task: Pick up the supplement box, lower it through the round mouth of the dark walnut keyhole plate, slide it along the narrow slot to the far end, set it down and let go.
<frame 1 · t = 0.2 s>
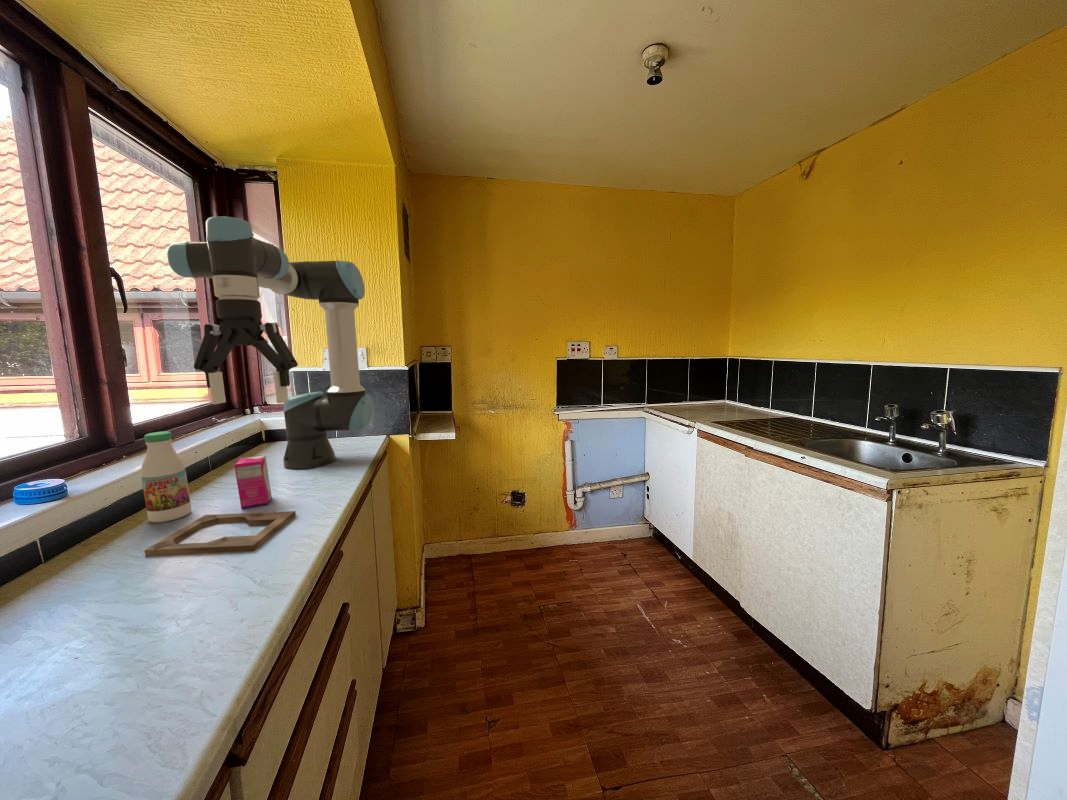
hand: (251, 402, 87), 27 cm above the worktop, fingers open, 13 cm apart
milk bottle: (170, 517, 97), on the worktop
supplement box: (256, 504, 104), on the worktop
keyhole plate: (227, 534, 88), on the worktop
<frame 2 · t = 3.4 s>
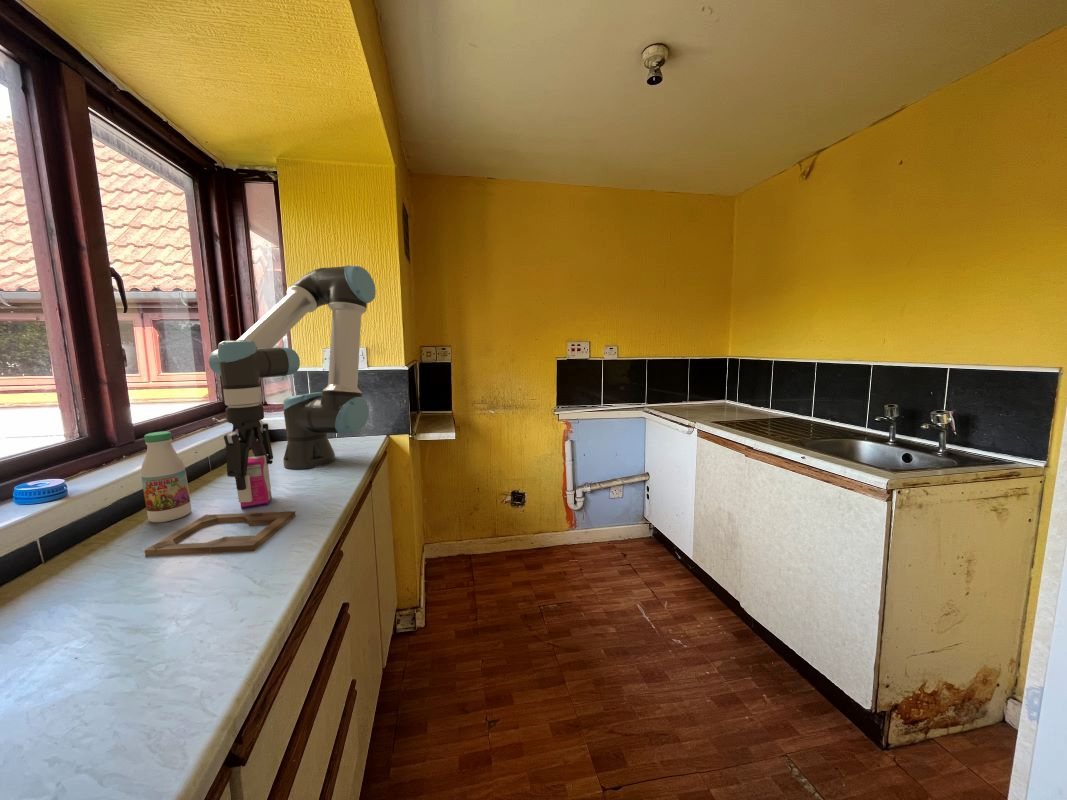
hand: (255, 495, 104), 2 cm above the worktop, fingers closed on supplement box, 7 cm apart
supplement box: (256, 504, 104), on the worktop, touching gripper
everything else where it was.
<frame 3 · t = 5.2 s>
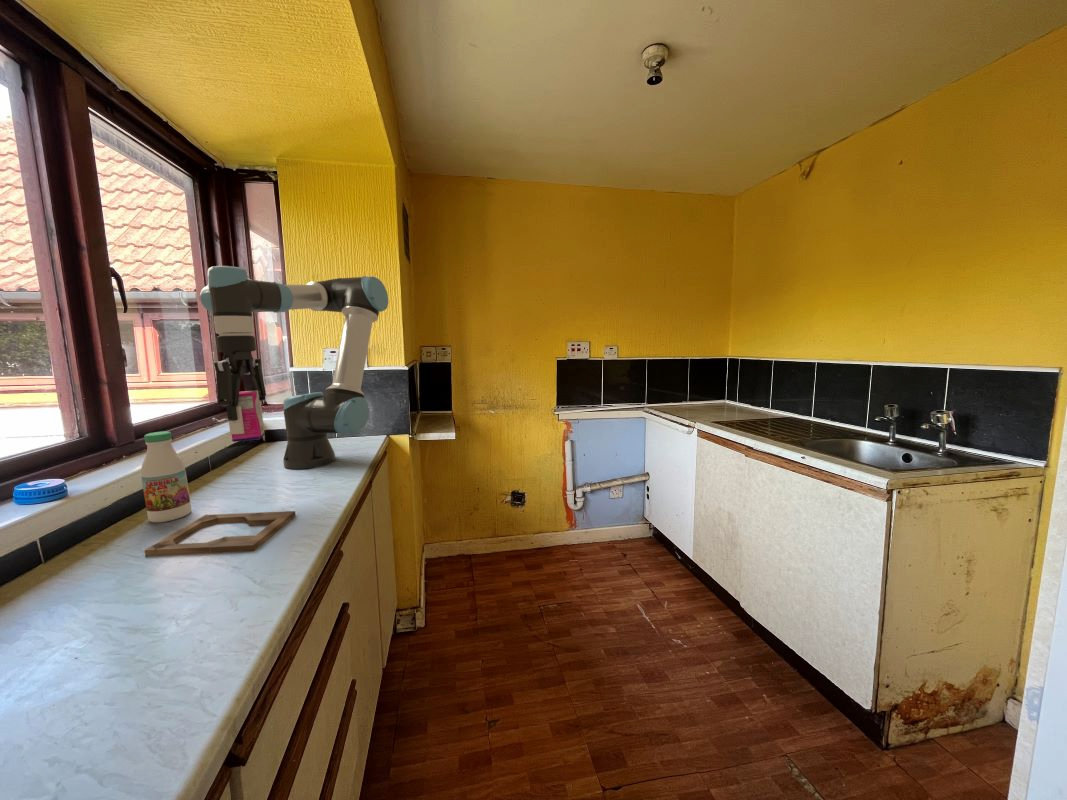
hand: (247, 429, 102), 19 cm above the worktop, fingers closed on supplement box, 7 cm apart
supplement box: (248, 439, 102), point 17 cm above the worktop, touching gripper
everything else where it was.
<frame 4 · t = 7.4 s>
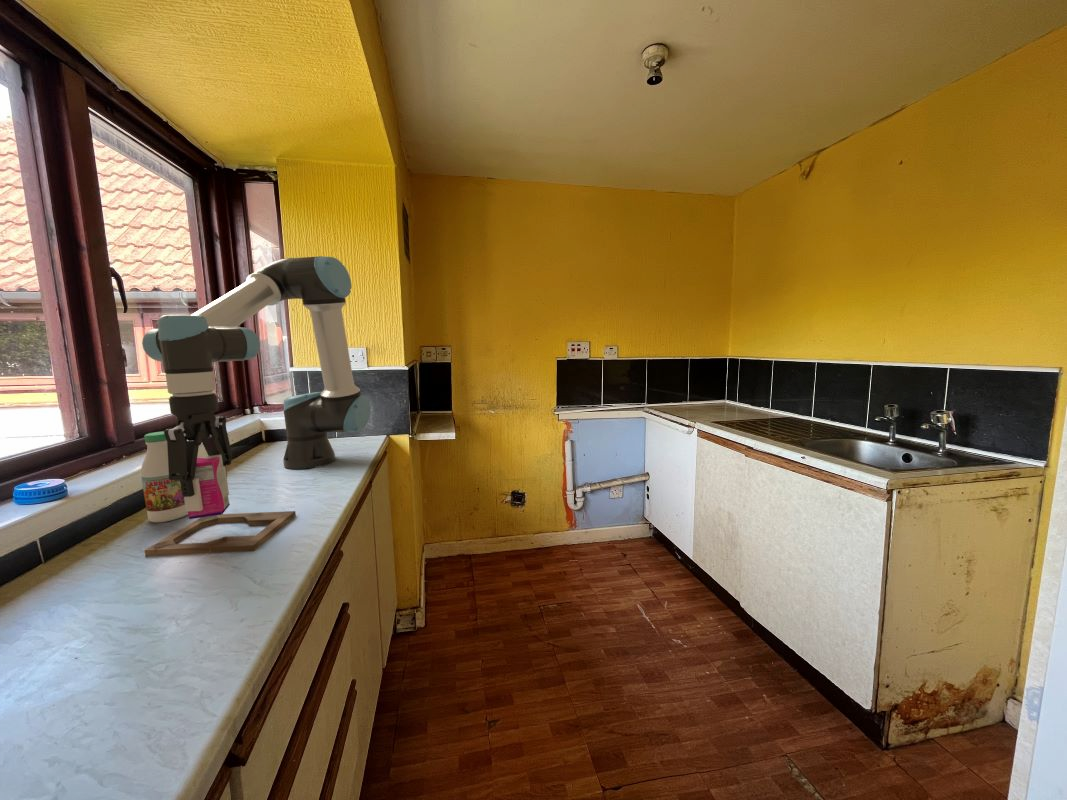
hand: (208, 502, 86), 7 cm above the worktop, fingers closed on supplement box, 7 cm apart
supplement box: (209, 513, 87), point 5 cm above the worktop, touching gripper
everything else where it was.
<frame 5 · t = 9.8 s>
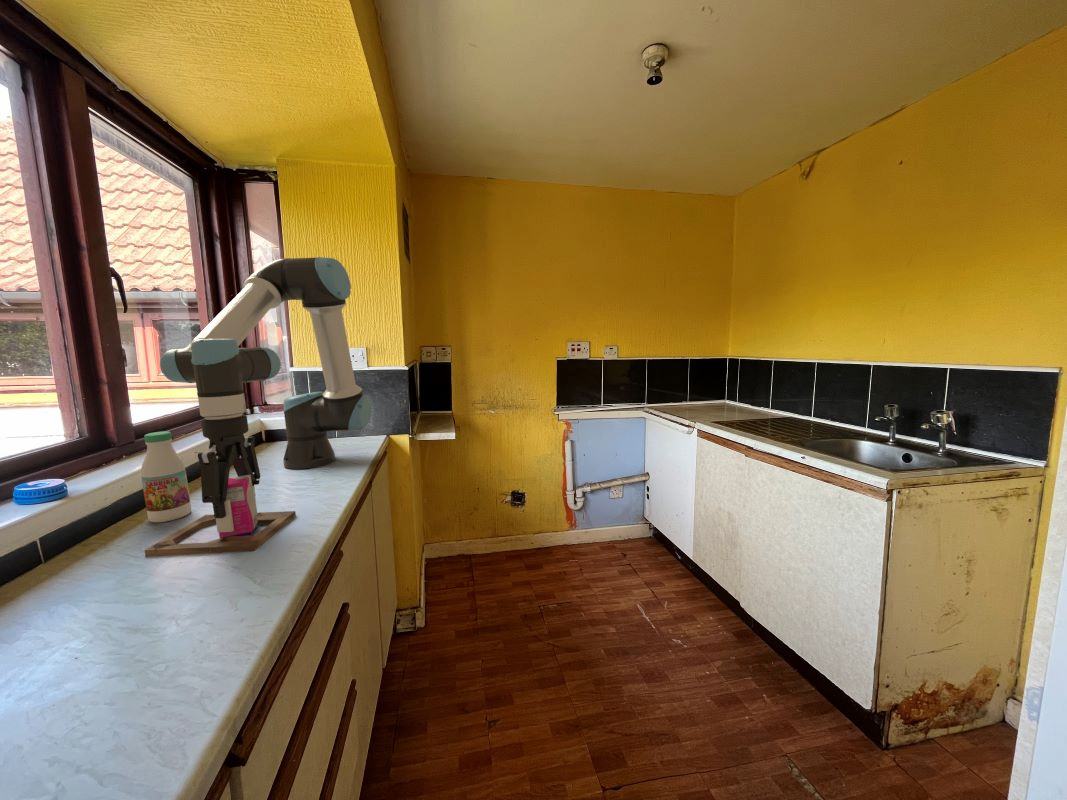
hand: (238, 522, 87), 2 cm above the worktop, fingers closed on supplement box, 7 cm apart
supplement box: (239, 533, 88), resting in keyhole plate, touching gripper
everything else where it was.
when the fingers open (2 cm above the worktop, at t = 11.4 s): supplement box stays where it is, resting in keyhole plate.
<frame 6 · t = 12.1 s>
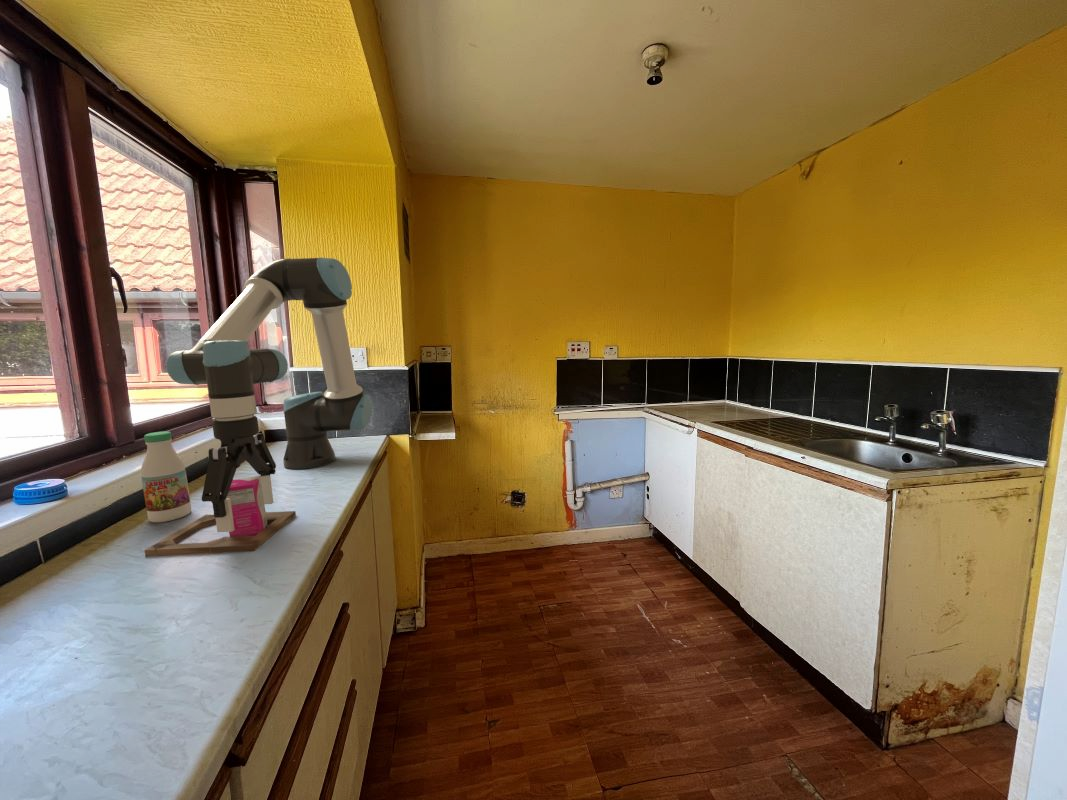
hand: (247, 516, 87), 4 cm above the worktop, fingers open, 13 cm apart
supplement box: (249, 534, 88), resting in keyhole plate
everything else where it was.
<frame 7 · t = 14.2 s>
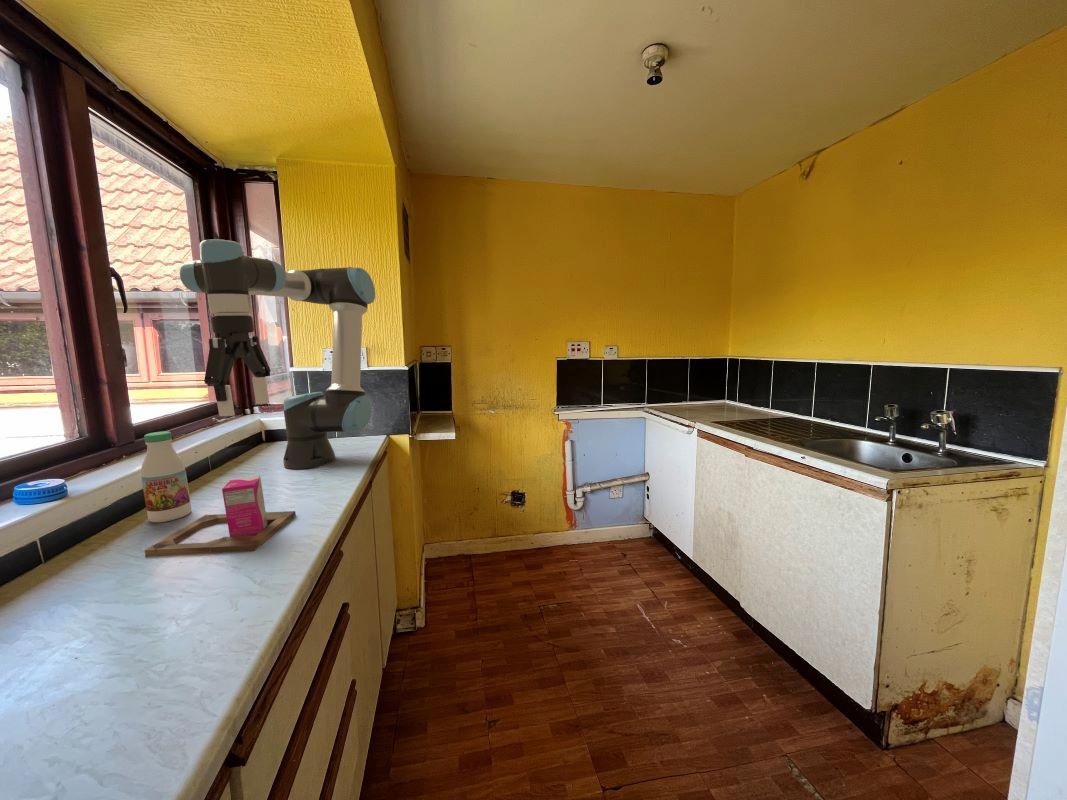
hand: (246, 409, 95), 25 cm above the worktop, fingers open, 13 cm apart
nothing on the worktop moved.
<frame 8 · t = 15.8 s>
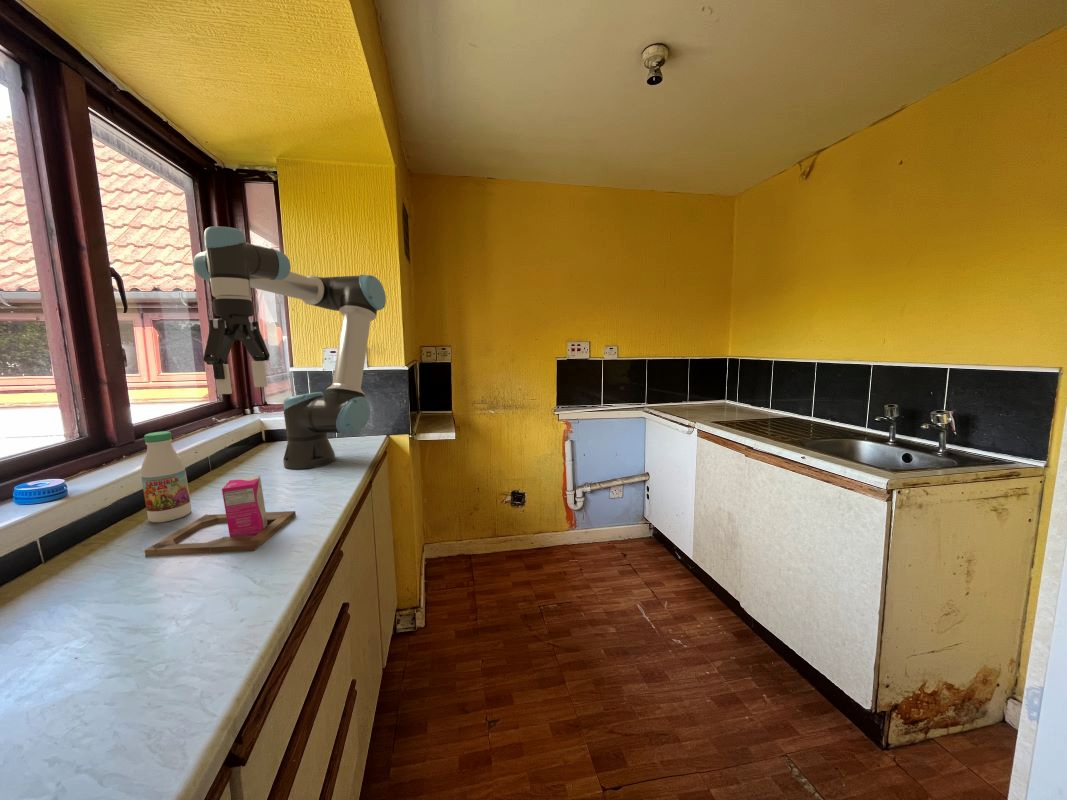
hand: (244, 390, 99), 29 cm above the worktop, fingers open, 13 cm apart
nothing on the worktop moved.
at the end: supplement box 0.6 cm from the target spot on the keyhole plate, point 0.0 cm above the keyhole plate's base; supplement box tilted 0°; the gripper is holding nothing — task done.
